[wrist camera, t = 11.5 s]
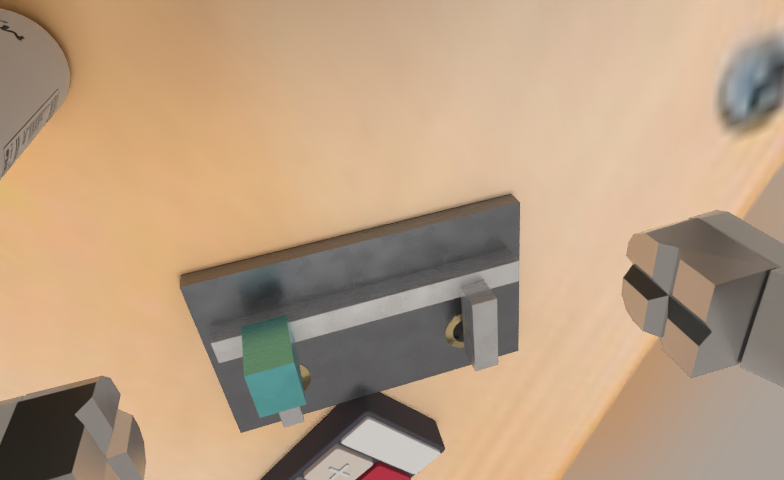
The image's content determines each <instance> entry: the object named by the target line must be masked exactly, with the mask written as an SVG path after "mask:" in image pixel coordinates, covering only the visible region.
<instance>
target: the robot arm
mask: <svg viewBox="0 0 784 480" xmlns="http://www.w3.org/2000/svg"><path fill="white" fill-rule="evenodd" d="M626 256H627V257H628V259H629V260H630V261H631V262H632V264H633V265H632V266H631V268H630V269H629V271H628V272H627V273H626V275H625V276H624V277H623V285H622V297H623V300H624V304H625V308H626V310H627V312H628V313H629V315H630V317H631V318H632V320H633V321H634V322H635V323H636V324H637V325H638V326H639V327H640V328H641V329H642V330H643V331H645V332H647V333H650V334H653V335H655V336H658V337H660V338H661V349H662V350H663V351H664V352H665V353H666V354H667V355H668V356H669V357H670V358H671V359H672V360H673V361H674V362H675V363H676V364H677V365H678V366H679V367H680V368H681V369H682V370H683V371H684V372H685V373H686V374H687V375H688V376H689V377H690V378H693V377H697V376H700V375H704V374H707V373H710V372H714V371H717V370H720V369H724V368H728V367H731V366H735V365H738V364H740V367H741V368H743V369H745V370H748V371H750V372H752V373H754V374H756V375H758V376H760V377H762V378H765V379H767V380H769V381H771V382H773V383H775V384H777V385H780V386H782V387H784V244H782V243H781V242H779V241H777V240H776V239H774V238H772V237H771V236H769V235H767V234H765V233H764V232H762V231H760V230H759V229H757V228H755V227H753V226H752V225H750V224H748V223H747V222H745V221H743V220H741V219H740V218H738V217H736V216H735V215H733V214H731V213H729V212H726V211H720V210H715V211H712V212H708V213H705V214H702V215H698V216H695V217H691V218H689V219H688V220H683V221H680V222H676V223H672V224H669V225H665V226H662V227H658V228H654V229H651V230H647V231H643V232H640V233H636V234H634V235H633V236H632V238H631V239H630V241H629V243H628V248H627V255H626ZM119 399H120V393H119V391H118V389H117V388H116V386H115V385H114V383H113V382H112V380H111V378H108V377H104V376H99V377H95V378H91V379H87V380H83V381H79V382H75V383H71V384H67V385H63V386H59V387H55V388H51V389H46V390H42V391H38V392H34V393H30V394H27V395H25V396H20V397H16V398H12V399H8V400H4V401H0V480H144V474H145V465H146V459H145V449H144V441H143V438H142V435H141V432H140V428H139V426H138V424H137V422H136V421H135V419H134V417H133V415H131V414H128V413H126V412H124V411H121V410H119V409H118V404H119Z"/></svg>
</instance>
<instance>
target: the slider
mask: <svg viewBox="0 0 784 480" xmlns="http://www.w3.org/2000/svg"><path fill="white" fill-rule="evenodd" d="M241 330H242V348H243V367H244V378H245V380H246V383H247V386H248V388H249V391H250V394H251V396H252V399H253V401H254V404H255V407H256V409H257V412H258V414H259V417H260V418H262V417H265V416H269V415H272V414H275V413H279V415H280V418H281V420H282V423H283V426H284V427H287V426H291V425H294V424H297V423H301V422H304V416H303V410H302V406H303V405H306V404H307V403H306V398H305V392H304V387H303V381H302V375H301V370H300V364H299V359H298V354H297V350H296V347H295V344H294V340H293V337H292V333H291V330H290V327H289V323H288V320H287V316H286V315H283V316H280V317H276V318H272V319H268V320H265V321H261V322H257V323H253V324H250V325H246V326H242V327H241Z"/></svg>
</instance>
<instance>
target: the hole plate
mask: <svg viewBox="0 0 784 480" xmlns="http://www.w3.org/2000/svg"><path fill="white" fill-rule="evenodd" d="M519 236H520V202H519V201H518V200H517V199H516V198H515V197H514V196H513V195H512V194H510V195H506V196H502V197H498V198H494V199H490V200H486V201H482V202H478V203H473V204H469V205H465V206H461V207H457V208H453V209H449V210H445V211H441V212H437V213H433V214H429V215H425V216H421V217H416V218H412V219H408V220H404V221H400V222H396V223H392V224H388V225H384V226H380V227H376V228H372V229H368V230H364V231H360V232H355V233H351V234H347V235H343V236H339V237H335V238H331V239H327V240H323V241H319V242H315V243H311V244H307V245H303V246H298V247H294V248H290V249H286V250H282V251H278V252H274V253H270V254H266V255H262V256H258V257H254V258H250V259H246V260H242V261H237V262H233V263H229V264H225V265H221V266H217V267H213V268H209V269H205V270H201V271H197V272H193V273H189V274H185V275H181V280H180V289H181V291H182V294H183V296H184V299H185V301H186V303H187V306H188V308H189V310H190V313H191V315H192V318H193V320H194V322H195V325H196V327H197V329H198V332H199V334H200V337H201V339H202V341H203V344H204V346H205V349H206V351H207V353H208V356H209V358H210V360H211V363H212V365H213V368H214V370H215V372H216V375H217V377H218V379H219V382H220V384H221V387H222V389H223V391H224V394H225V396H226V399H227V401H228V403H229V406H230V408H231V410H232V413H233V415H234V418H235V420H236V422H237V425H238V427H239V429H240V432H241V433H242V432H245V431H249V430H252V429H256V428H259V427H262V426H266V425H269V424H272V423H276V422H279V421H282V420H281V418H280V415H279V413H275V414H272V415H269V416H265V417H262V418H260V417H259V414H258V412H257V409H256V407H255V404H254V401H253V399H252V396H251V394H250V391H249V388H248V386H247V383H246V380H245V378H244V367H243V348H242V330H241V327H242V326H246V325H250V324H253V323H257V322H261V321H265V320H268V319H272V318H276V317H280V316H283V315H286V316H287V320H288V323H289V327H290V330H291V333H292V337H293V340H294V344H295V347H296V350H297V354H298V359H299V364H300V370H301V375H302V381H303V387H304V392H305V398H306V403H307V404H306V405H303V406H302V410H303V414H306V413H310V412H313V411H316V410H320V409H323V408H326V407H330V406H333V405H337V404H340V403H343V402H347V401H350V400H353V399H357V398H360V397H363V396H367V395H370V394H374V393H377V392H380V391H384V390H387V389H390V388H394V387H397V386H401V385H404V384H407V383H411V382H414V381H417V380H421V379H424V378H428V377H431V376H434V375H438V374H441V373H444V372H448V371H451V370H454V369H458V368H461V367H465V366H468V365H471V364H472V366H473V368H474V370H475V371H478V370H481V369H485V368H488V367H492V366H495V365H498V356H502V355H505V354H508V353H512V352H515V351H518V326H519Z"/></svg>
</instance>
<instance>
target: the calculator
mask: <svg viewBox="0 0 784 480" xmlns="http://www.w3.org/2000/svg"><path fill="white" fill-rule="evenodd" d="M444 450H445V447H444V444H443V441H442V438H441V436H440V433H439V430H438V427H437V425H436V422H435V420H433V419H431V418H429V417H427V416H425V415H423V414H421V413H419V412H417V411H416V410H414V409H412V408H410V407H408V406H406V405H404V404H402V403H400V402H398V401H396V400H394V399H392V398H390V397H388V396H386V395H384V394H382V393H380V392H377V393H374V394H370V395H367V396H363V397H360V398H357V399H353V400H350V401H347V402H343V403H340V404H338V405H337V406H336V407H335V408H334V409H333V410H332V411H331V412H330V413H329V415H328V416H327V417H326V418H325V419H324V420H323V421H322V422H321V423H320V424H319V425H318V426H316V427H315V428H314V429H313V430H312V431H311V432H310V433H309V434H308V435H306V436H305V437H304V438H303V439H302V440H301V441H300V442H299V443H298V444H297V445H296V446H295V447H294V448H293V449H292V450H291V451H290V452H288V453H287V454H286V455H285V456H284V457H283V458H282V459H281V460H280V461H279V462H278V463H277V464H276V465H275V466H274V467H273V468H272V469H271V470H270V471H269V472H268V473H267V474H266V475H265V476H264V477H263V478H262V479H261V480H411V477H412V476H414V475H415V474H417V473H418V472H419V471H420V470H422V469H423V468H424V467H425V466H427V465H428V464H429V463H430V462H432V461H433V460H434V459H435V458H437V457H438V456H439V455H440V454H441V453H442V452H443V451H444Z"/></svg>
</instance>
